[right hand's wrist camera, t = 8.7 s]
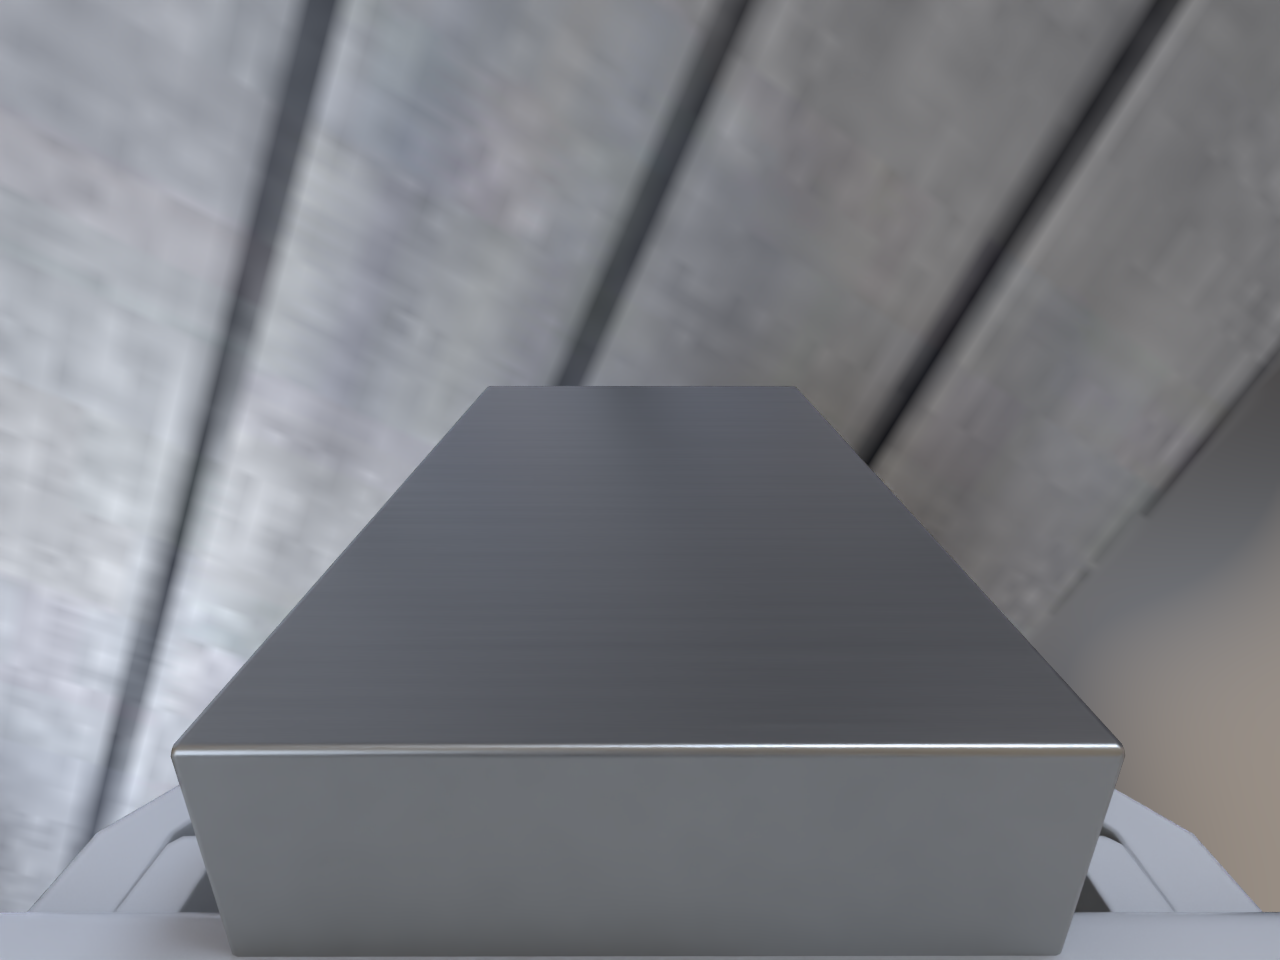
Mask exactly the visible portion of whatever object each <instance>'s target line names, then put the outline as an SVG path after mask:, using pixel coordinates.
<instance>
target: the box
mask: <svg viewBox="0 0 1280 960" xmlns="http://www.w3.org/2000/svg"><path fill="white" fill-rule="evenodd" d="M1124 758H1125V751H1124V748H1123V745H1122V744H1121V743H1120V741H1119V740H1118V739H1117V738H1116V737H1115V736H1114V735H1113V734H1112V733H1111V732H1110V730H1109V729H1108V728H1107V727H1106V726H1105V725H1104V724H1103V723H1102V722H1101V721H1100V719H1099V718H1098V717H1097V716H1096V715H1095V714H1094V713H1093V712H1092V711H1091V710H1090V709H1089V707H1088V706H1087V705H1086V704H1085V703H1084V702H1083V701H1082V700H1081V699H1080V698H1079V696H1078V695H1077V694H1076V693H1075V692H1074V691H1073V690H1072V689H1071V688H1070V687H1069V686H1068V684H1067V683H1066V682H1065V681H1064V680H1063V679H1062V678H1061V677H1060V676H1059V675H1058V673H1057V672H1056V671H1055V670H1054V669H1053V668H1052V667H1051V666H1050V665H1049V664H1048V663H1047V661H1046V660H1045V659H1044V658H1043V657H1042V656H1041V655H1040V654H1039V653H1038V652H1037V650H1036V649H1035V648H1034V647H1033V646H1032V645H1031V644H1030V643H1029V642H1028V641H1027V640H1026V638H1025V637H1024V636H1023V635H1022V634H1021V633H1020V632H1019V631H1018V630H1017V629H1016V627H1015V626H1014V625H1013V624H1012V623H1011V622H1010V621H1009V620H1008V619H1007V618H1006V617H1005V615H1004V614H1003V613H1002V612H1001V611H1000V610H999V609H998V608H997V607H996V606H995V604H994V603H993V602H992V601H991V600H990V599H989V598H988V597H987V596H986V595H985V594H984V592H983V591H982V590H981V589H980V588H979V587H978V586H977V585H976V584H975V583H974V581H973V580H972V579H971V578H970V577H969V576H968V575H967V574H966V573H965V572H964V571H963V569H962V568H961V567H960V566H959V565H958V564H957V563H956V562H955V561H954V560H953V558H952V557H951V556H950V555H949V554H948V553H947V552H946V551H945V550H944V549H943V548H942V546H941V545H940V544H939V543H938V542H937V541H936V540H935V539H934V538H933V537H932V535H931V534H930V533H929V532H928V531H927V530H926V529H925V528H924V527H923V526H922V525H921V523H920V522H919V521H918V520H917V519H916V518H915V517H914V516H913V515H912V514H911V512H910V511H909V510H908V509H907V508H906V507H905V506H904V505H903V504H902V503H901V502H900V500H899V499H898V498H897V497H896V496H895V495H894V494H893V493H892V492H891V491H890V489H889V488H888V487H887V486H886V485H885V484H884V483H883V482H882V481H881V480H880V479H879V477H878V476H877V475H876V474H875V473H874V472H873V471H872V470H871V469H870V468H869V466H868V465H867V464H866V463H865V462H864V461H863V460H862V459H861V458H860V457H859V456H858V454H857V453H856V452H855V451H854V450H853V449H852V448H851V447H850V446H849V445H848V444H847V442H846V441H845V440H844V439H843V438H842V437H841V436H840V435H839V434H838V433H837V431H836V430H835V429H834V428H833V427H832V426H831V425H830V424H829V423H828V422H827V421H826V419H825V418H824V417H823V416H822V415H821V414H820V413H819V412H818V411H817V410H816V408H815V407H814V406H813V405H812V404H811V403H810V402H809V401H808V400H807V399H806V398H805V396H804V395H803V394H802V393H801V392H800V391H799V390H798V389H797V388H796V387H794V386H489V387H487V388H486V389H485V391H484V392H483V393H482V394H481V395H480V396H479V397H478V398H477V400H476V401H475V402H474V403H473V404H472V405H471V406H470V408H469V409H468V410H467V411H466V412H465V413H464V414H463V416H462V417H461V418H460V419H459V420H458V421H457V422H456V424H455V425H454V426H453V427H452V428H451V429H450V430H449V432H448V433H447V434H446V435H445V436H444V437H443V438H442V440H441V441H440V442H439V443H438V444H437V445H436V446H435V447H434V449H433V450H432V451H431V452H430V453H429V454H428V455H427V457H426V458H425V459H424V460H423V461H422V462H421V463H420V465H419V466H418V467H417V468H416V469H415V470H414V471H413V473H412V474H411V475H410V476H409V477H408V478H407V479H406V481H405V482H404V483H403V484H402V485H401V486H400V487H399V489H398V490H397V491H396V492H395V493H394V494H393V495H392V496H391V498H390V499H389V500H388V501H387V502H386V503H385V504H384V506H383V507H382V508H381V509H380V510H379V511H378V512H377V514H376V515H375V516H374V517H373V518H372V519H371V520H370V522H369V523H368V524H367V525H366V526H365V527H364V528H363V530H362V531H361V532H360V533H359V534H358V535H357V536H356V538H355V539H354V540H353V541H352V542H351V543H350V544H349V546H348V547H347V548H346V549H345V550H344V551H343V552H342V553H341V555H340V556H339V557H338V558H337V559H336V560H335V561H334V563H333V564H332V565H331V566H330V567H329V568H328V569H327V571H326V572H325V573H324V574H323V575H322V576H321V577H320V579H319V580H318V581H317V582H316V583H315V584H314V585H313V587H312V588H311V589H310V590H309V591H308V592H307V593H306V595H305V596H304V597H303V598H302V599H301V600H300V601H299V602H298V604H297V605H296V606H295V607H294V608H293V609H292V610H291V612H290V613H289V614H288V615H287V616H286V617H285V618H284V620H283V621H282V622H281V623H280V624H279V625H278V626H277V628H276V629H275V630H274V631H273V632H272V633H271V634H270V636H269V637H268V638H267V639H266V640H265V641H264V642H263V644H262V645H261V646H260V647H259V648H258V649H257V650H256V651H255V653H254V654H253V655H252V656H251V657H250V658H249V659H248V661H247V662H246V663H245V664H244V665H243V666H242V667H241V669H240V670H239V671H238V672H237V673H236V674H235V675H234V677H233V678H232V679H231V680H230V681H229V682H228V683H227V685H226V686H225V687H224V688H223V689H222V690H221V691H220V693H219V694H218V695H217V696H216V697H215V698H214V699H213V701H212V702H211V703H210V704H209V705H208V706H207V707H206V708H205V710H204V711H203V712H202V713H201V714H200V715H199V716H198V718H197V719H196V720H195V721H194V722H193V723H192V724H191V726H190V727H189V728H188V729H187V730H186V731H185V732H184V734H183V735H182V736H181V737H180V738H179V739H178V740H177V742H176V743H175V744H174V746H173V748H172V751H171V759H172V762H173V765H174V768H175V771H176V775H177V778H178V781H179V784H180V787H181V791H182V794H183V797H184V800H185V804H186V807H187V810H188V813H189V816H190V820H191V823H192V826H193V829H194V832H195V836H196V839H197V842H198V845H199V849H200V852H201V855H202V858H203V861H204V865H205V868H206V871H207V874H208V877H209V881H210V884H211V887H212V890H213V894H214V897H215V900H216V903H217V906H218V910H219V913H220V916H221V919H222V922H223V926H224V929H225V932H226V935H227V938H228V942H229V945H230V948H231V951H232V954H233V955H235V956H237V957H539V956H1056V955H1058V954H1060V953H1061V952H1062V949H1063V946H1064V943H1065V940H1066V937H1067V934H1068V930H1069V927H1070V924H1071V921H1072V918H1073V915H1074V912H1075V909H1076V906H1077V903H1078V900H1079V897H1080V893H1081V890H1082V887H1083V884H1084V881H1085V878H1086V875H1087V872H1088V869H1089V866H1090V863H1091V860H1092V856H1093V853H1094V850H1095V847H1096V844H1097V841H1098V838H1099V835H1100V832H1101V829H1102V826H1103V823H1104V819H1105V816H1106V813H1107V810H1108V807H1109V804H1110V801H1111V798H1112V795H1113V792H1114V789H1115V786H1116V782H1117V779H1118V776H1119V773H1120V770H1121V767H1122V764H1123V761H1124Z"/></svg>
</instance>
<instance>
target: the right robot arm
mask: <svg viewBox="0 0 1280 960" xmlns="http://www.w3.org/2000/svg"><path fill="white" fill-rule="evenodd" d="M0 960H1280V912H1262V911H1261V909H1260V908H1259V907H1258V906H1257V905H1256V904H1255V903H1254V902H1253V900H1252V899H1251V898H1250V897H1249V896H1248V895H1247V894H1246V893H1245V891H1244V890H1243V889H1242V888H1241V887H1240V886H1239V885H1238V884H1237V882H1236V881H1235V880H1234V879H1233V878H1232V877H1231V876H1230V875H1229V873H1228V872H1227V871H1226V870H1225V869H1224V868H1223V867H1222V866H1221V864H1220V863H1219V862H1218V861H1217V860H1216V859H1215V858H1214V857H1213V855H1212V854H1211V853H1210V852H1209V851H1208V850H1207V849H1206V848H1205V846H1204V845H1203V844H1202V843H1201V842H1200V841H1199V840H1198V839H1197V837H1196V836H1195V835H1194V834H1193V833H1191V832H1189V831H1187V830H1186V829H1184V828H1182V827H1181V826H1179V825H1177V824H1175V823H1174V822H1172V821H1170V820H1168V819H1167V818H1165V817H1163V816H1161V815H1160V814H1158V813H1156V812H1154V811H1153V810H1151V809H1149V808H1148V807H1146V806H1144V805H1142V804H1141V803H1139V802H1137V801H1135V800H1134V799H1132V798H1130V797H1128V796H1127V795H1125V794H1123V793H1121V792H1120V791H1118V790H1116V789H1114V792H1113V795H1112V798H1111V801H1110V804H1109V807H1108V810H1107V813H1106V816H1105V819H1104V823H1103V826H1102V829H1101V832H1100V835H1099V838H1098V841H1097V844H1096V847H1095V850H1094V853H1093V856H1092V860H1091V863H1090V866H1089V869H1088V872H1087V875H1086V878H1085V881H1084V884H1083V887H1082V890H1081V893H1080V897H1079V900H1078V903H1077V906H1076V909H1075V912H1074V915H1073V918H1072V921H1071V924H1070V927H1069V930H1068V934H1067V937H1066V940H1065V943H1064V946H1063V949H1062V952H1061V953H1060V954H1058V955H1056V956H539V957H237V956H235V955H233V954H232V951H231V948H230V945H229V942H228V938H227V935H226V932H225V929H224V926H223V922H222V919H221V916H220V913H219V910H218V906H217V903H216V900H215V897H214V894H213V890H212V887H211V884H210V881H209V877H208V874H207V871H206V868H205V865H204V861H203V858H202V855H201V852H200V849H199V845H198V842H197V839H196V836H195V832H194V829H193V826H192V823H191V820H190V816H189V813H188V810H187V807H186V804H185V800H184V797H183V794H182V791H181V787H180V785H178V786H177V787H175V788H173V789H172V790H170V791H168V792H166V793H165V794H163V795H161V796H159V797H158V798H156V799H154V800H153V801H151V802H149V803H147V804H146V805H144V806H142V807H140V808H139V809H137V810H135V811H134V812H132V813H130V814H128V815H127V816H125V817H123V818H121V819H120V820H118V821H116V822H115V823H113V824H111V825H109V826H108V827H106V828H104V829H102V830H101V831H99V832H97V833H96V834H95V836H94V837H93V838H92V839H91V840H90V841H89V842H88V843H87V845H86V846H85V847H84V848H83V849H82V850H81V851H80V853H79V854H78V855H77V856H76V857H75V858H74V859H73V861H72V862H71V863H70V864H69V865H68V866H67V867H66V868H65V870H64V871H63V872H62V873H61V874H60V875H59V876H58V878H57V879H56V880H55V881H54V882H53V883H52V884H51V886H50V887H49V888H48V889H47V890H46V891H45V892H44V893H43V895H42V896H41V897H40V898H39V899H38V900H37V901H36V903H35V904H34V905H33V906H32V907H31V908H30V909H29V911H28V912H0Z"/></svg>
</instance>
